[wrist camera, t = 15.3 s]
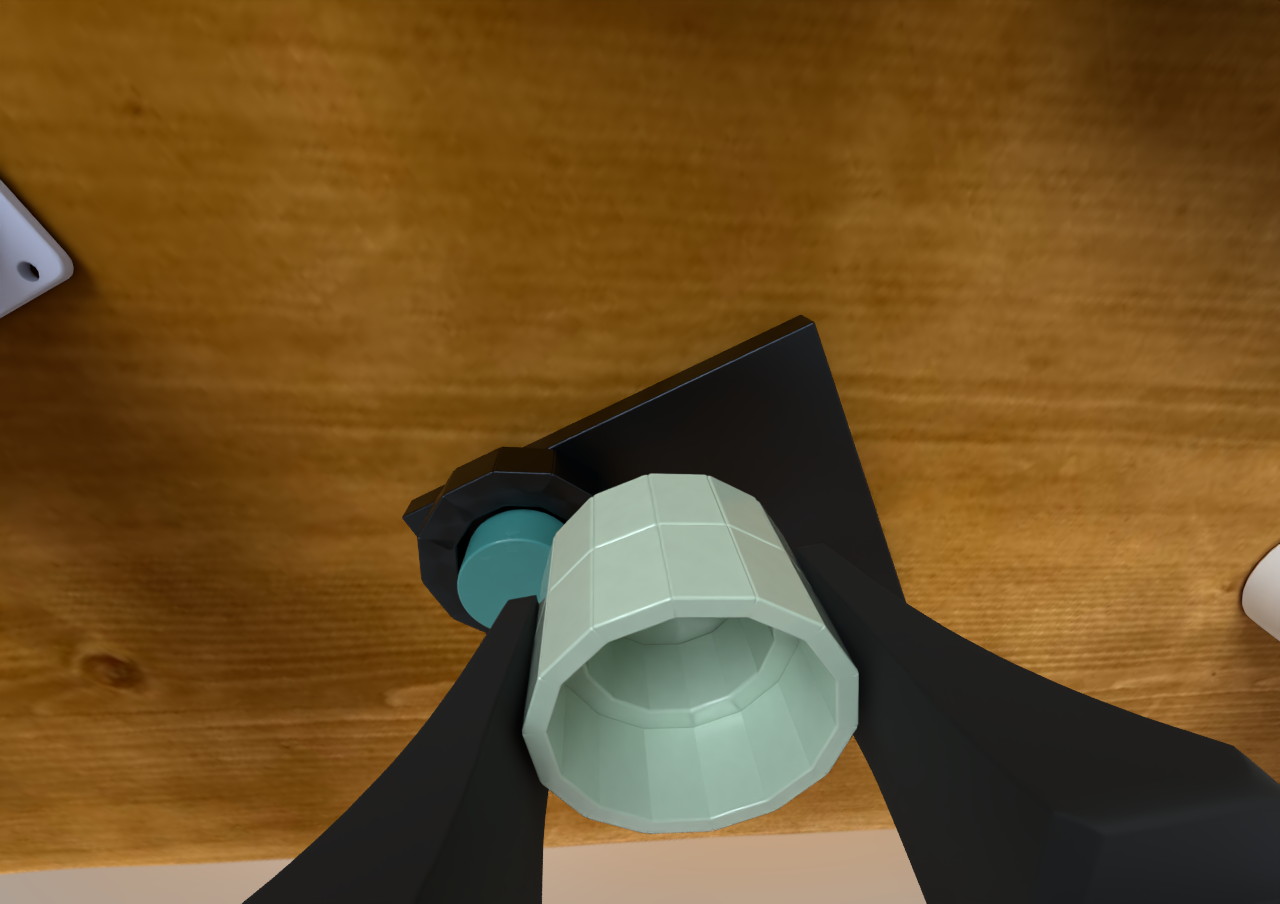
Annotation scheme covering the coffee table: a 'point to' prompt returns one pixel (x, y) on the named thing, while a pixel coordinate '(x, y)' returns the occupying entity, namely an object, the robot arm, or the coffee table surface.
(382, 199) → the coffee table surface
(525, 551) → the button
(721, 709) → the pale green handleless cup
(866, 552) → the scale
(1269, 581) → the cup
